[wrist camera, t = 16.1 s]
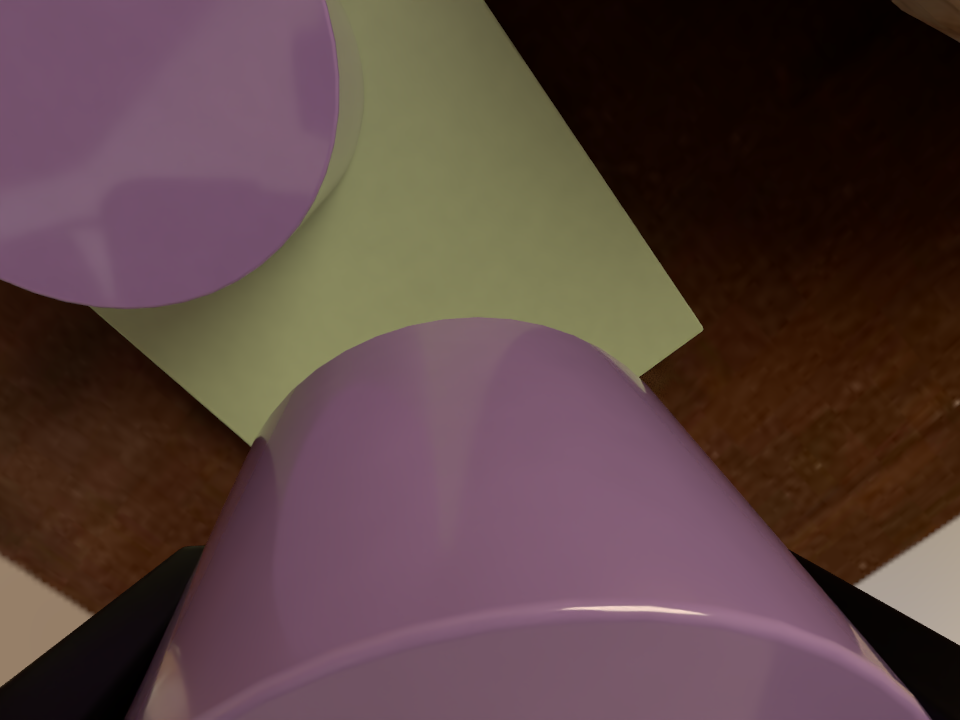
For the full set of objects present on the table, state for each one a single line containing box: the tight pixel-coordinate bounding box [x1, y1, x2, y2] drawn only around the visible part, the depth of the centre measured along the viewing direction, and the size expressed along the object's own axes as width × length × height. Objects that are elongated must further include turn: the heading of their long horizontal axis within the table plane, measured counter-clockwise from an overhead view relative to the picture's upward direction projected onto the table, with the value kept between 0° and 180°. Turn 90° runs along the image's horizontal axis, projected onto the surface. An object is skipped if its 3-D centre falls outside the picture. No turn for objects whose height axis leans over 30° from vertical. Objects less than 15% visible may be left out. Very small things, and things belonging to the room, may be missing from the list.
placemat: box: [89, 0, 703, 446], centre depth 13 cm, size 14×10×1 cm
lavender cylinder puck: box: [124, 317, 932, 720], centre depth 6 cm, size 6×6×4 cm
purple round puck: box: [0, 0, 364, 309], centre depth 9 cm, size 6×6×4 cm
